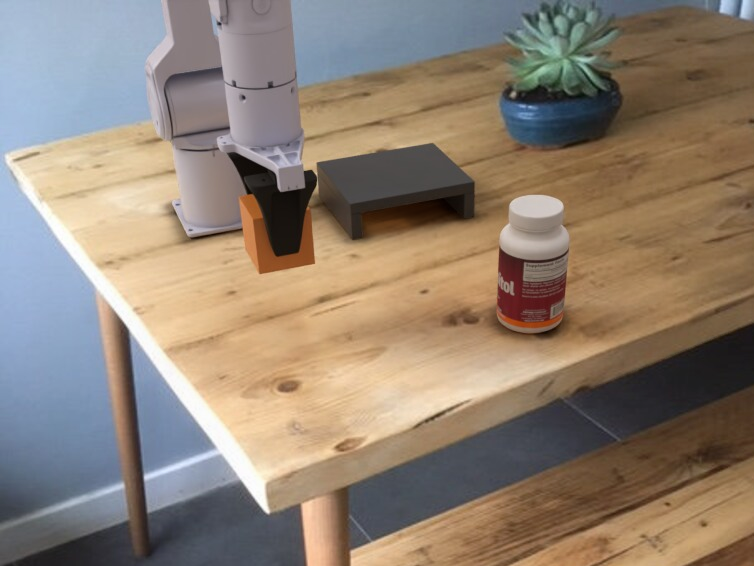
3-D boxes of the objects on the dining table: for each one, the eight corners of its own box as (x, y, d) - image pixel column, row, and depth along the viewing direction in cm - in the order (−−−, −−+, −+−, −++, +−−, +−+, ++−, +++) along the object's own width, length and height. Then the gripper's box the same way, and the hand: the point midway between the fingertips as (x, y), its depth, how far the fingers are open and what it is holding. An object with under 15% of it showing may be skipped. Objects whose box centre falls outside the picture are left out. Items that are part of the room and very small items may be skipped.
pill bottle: (490, 304, 98) (494, 192, 91) (555, 299, 99) (564, 187, 92) (502, 338, 94) (507, 223, 87) (569, 333, 94) (580, 217, 87)
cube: (245, 250, 92) (238, 196, 89) (299, 240, 94) (294, 186, 90) (259, 274, 89) (252, 219, 86) (315, 264, 90) (310, 209, 87)
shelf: (318, 196, 118) (316, 162, 115) (433, 176, 121) (433, 142, 119) (352, 240, 110) (350, 203, 107) (474, 217, 113) (475, 181, 110)
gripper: (191, 57, 86) (214, 214, 94) (232, 115, 75) (253, 285, 84) (274, 45, 87) (289, 201, 96) (324, 101, 77) (336, 269, 86)
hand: (277, 239), depth 90 cm, fingers closed on cube, 5 cm apart
